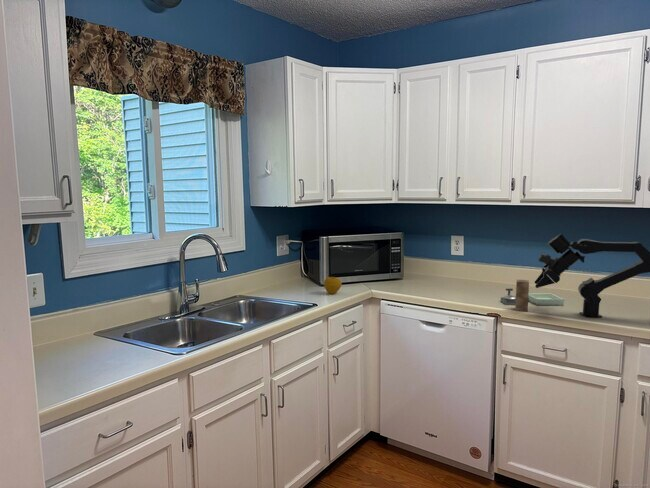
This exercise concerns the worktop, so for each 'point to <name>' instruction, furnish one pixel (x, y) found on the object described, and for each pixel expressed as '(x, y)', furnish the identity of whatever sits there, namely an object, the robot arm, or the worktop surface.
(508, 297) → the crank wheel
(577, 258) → the robot arm
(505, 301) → the crank base
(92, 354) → the worktop surface
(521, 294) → the block
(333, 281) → the apple
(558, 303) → the tray
